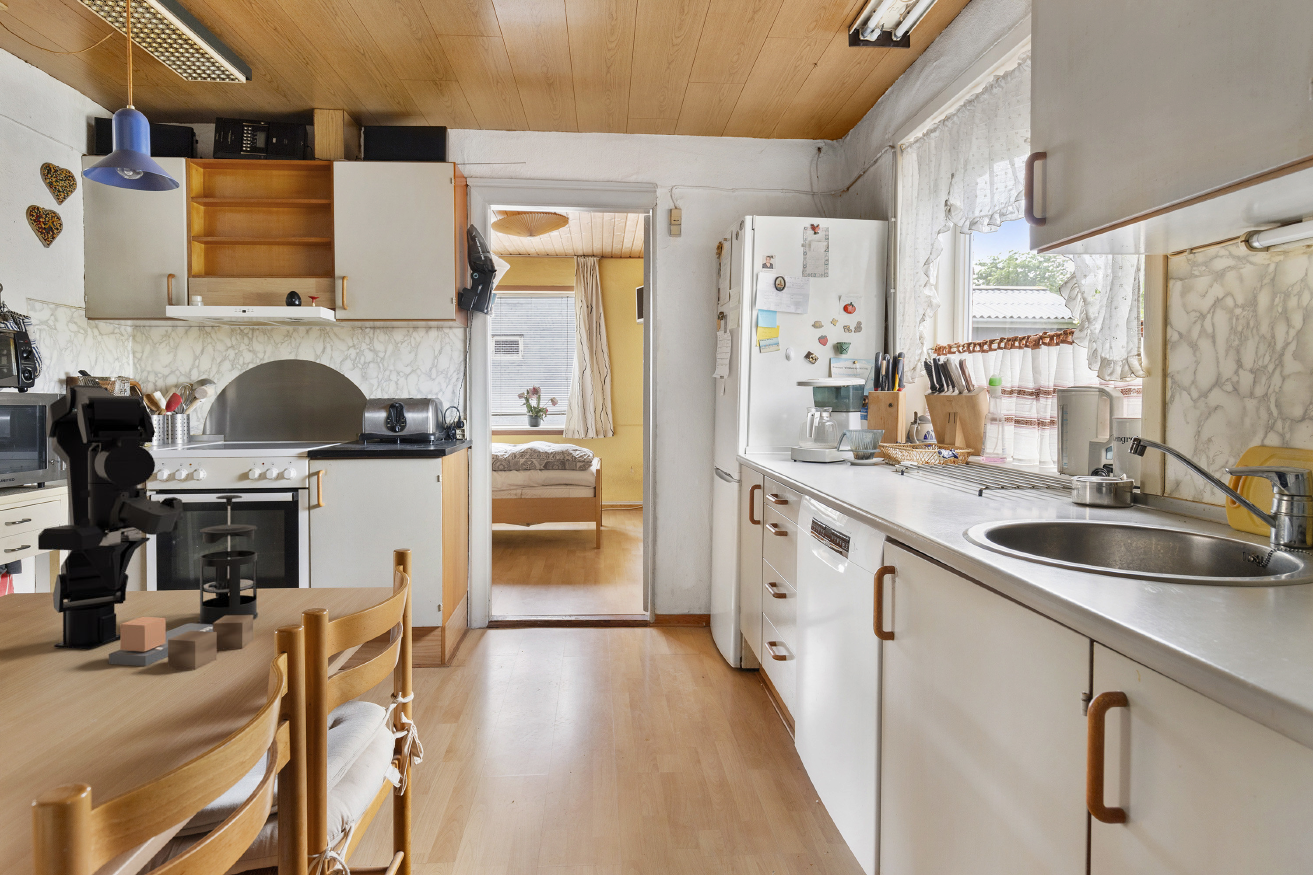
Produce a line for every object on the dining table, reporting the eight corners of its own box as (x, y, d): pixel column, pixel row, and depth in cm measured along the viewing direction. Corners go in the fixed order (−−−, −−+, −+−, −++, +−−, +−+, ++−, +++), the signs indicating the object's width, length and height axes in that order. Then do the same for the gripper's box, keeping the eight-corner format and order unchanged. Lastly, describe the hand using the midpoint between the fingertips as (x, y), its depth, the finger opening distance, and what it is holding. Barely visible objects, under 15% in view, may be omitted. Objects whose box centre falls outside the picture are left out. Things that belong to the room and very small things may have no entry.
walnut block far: (212, 650, 114) (213, 623, 114) (224, 641, 119) (224, 615, 119) (242, 649, 115) (242, 622, 115) (253, 640, 119) (253, 614, 119)
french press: (265, 620, 130) (265, 496, 130) (205, 630, 124) (205, 499, 123) (248, 607, 139) (248, 490, 138) (191, 615, 132) (192, 493, 132)
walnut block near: (168, 668, 106) (168, 639, 106) (190, 658, 110) (190, 630, 110) (195, 670, 106) (195, 641, 105) (216, 660, 110) (216, 632, 110)
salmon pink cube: (120, 650, 108) (120, 624, 108) (141, 641, 112) (141, 616, 112) (144, 651, 108) (144, 625, 107) (165, 643, 112) (165, 617, 111)
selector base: (108, 663, 107) (108, 652, 107) (188, 631, 123) (188, 621, 123) (145, 665, 107) (145, 654, 106) (220, 633, 122) (220, 623, 122)
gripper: (114, 488, 94) (115, 606, 94) (210, 477, 112) (210, 575, 113) (33, 487, 94) (34, 604, 94) (142, 477, 113) (142, 574, 113)
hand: (113, 588), depth 104 cm, fingers closed
